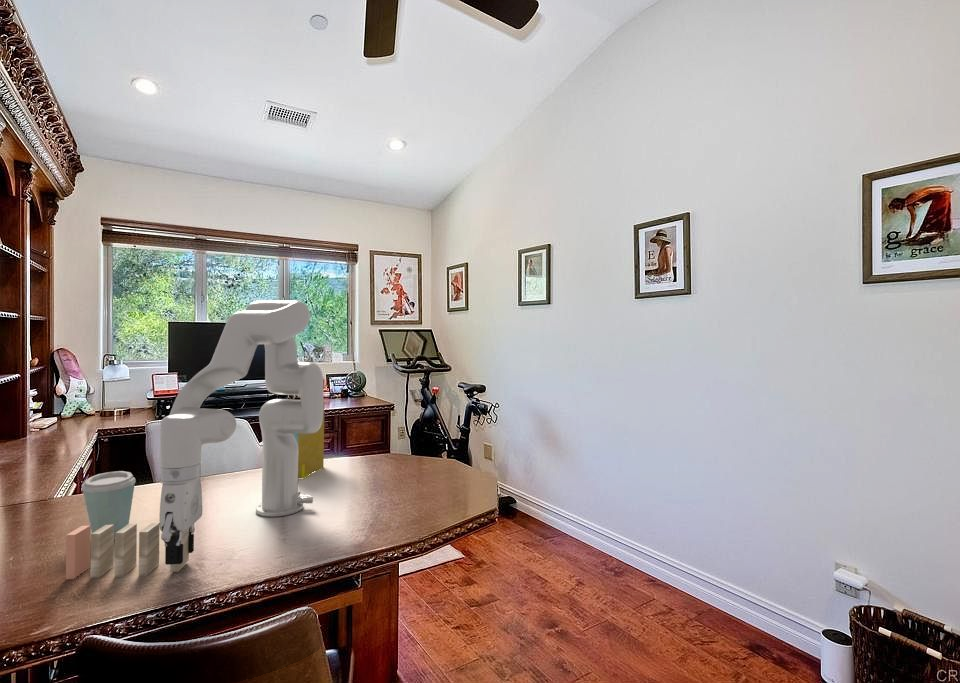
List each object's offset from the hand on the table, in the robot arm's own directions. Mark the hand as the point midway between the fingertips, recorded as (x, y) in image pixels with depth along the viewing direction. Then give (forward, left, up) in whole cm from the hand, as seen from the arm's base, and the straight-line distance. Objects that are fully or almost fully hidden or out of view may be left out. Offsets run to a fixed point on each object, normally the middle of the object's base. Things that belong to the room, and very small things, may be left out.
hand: (179, 557), depth 106 cm
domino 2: (+15, 0, -2) cm, 15 cm away
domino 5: (0, 0, -2) cm, 2 cm away
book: (-12, -75, -3) cm, 76 cm away
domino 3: (+11, 0, -2) cm, 11 cm away
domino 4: (+6, 0, -2) cm, 6 cm away
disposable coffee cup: (+24, -19, -3) cm, 31 cm away
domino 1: (+20, 0, -2) cm, 20 cm away
